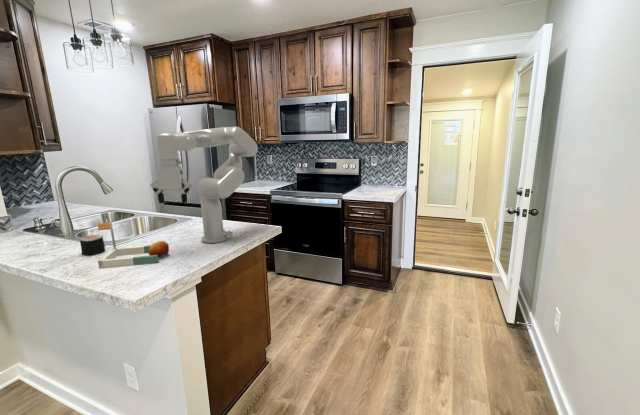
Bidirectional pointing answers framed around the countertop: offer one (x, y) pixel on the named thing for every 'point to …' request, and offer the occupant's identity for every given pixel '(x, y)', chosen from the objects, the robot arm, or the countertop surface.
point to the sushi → (92, 245)
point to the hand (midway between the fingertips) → (173, 202)
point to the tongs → (124, 253)
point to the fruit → (159, 249)
